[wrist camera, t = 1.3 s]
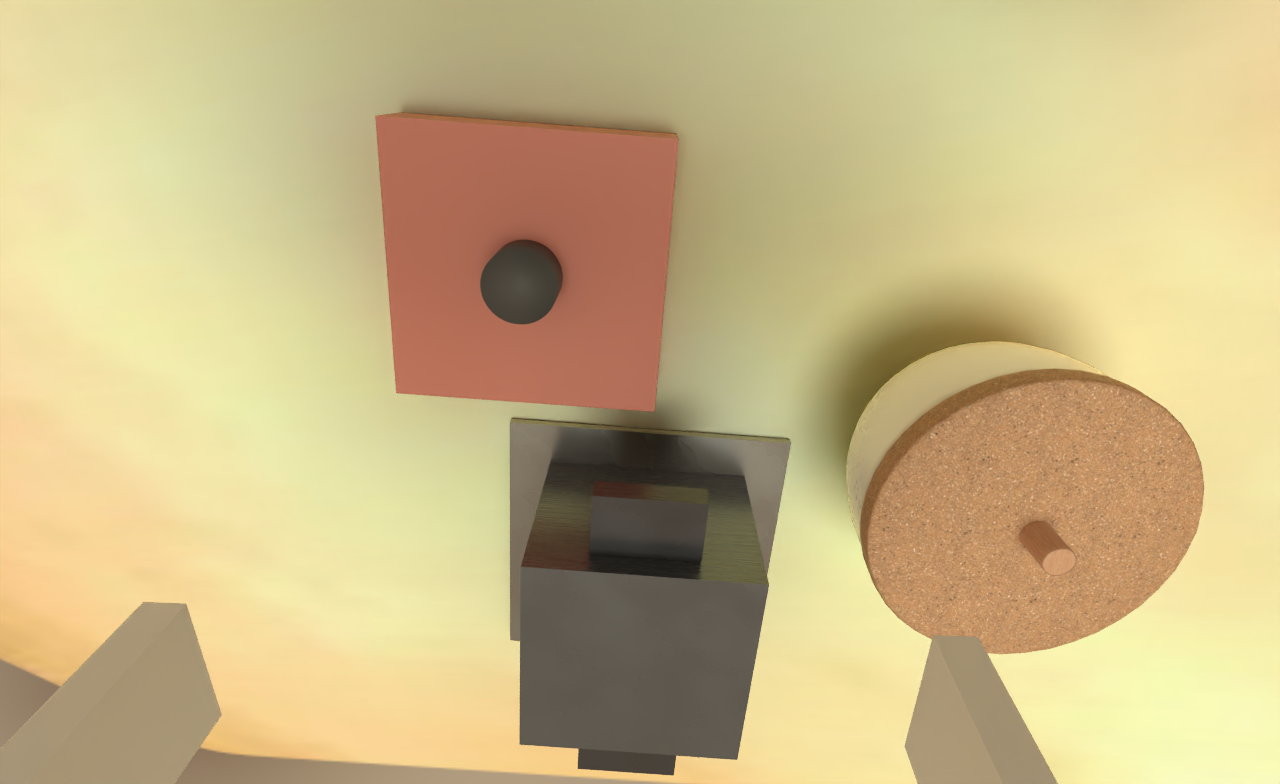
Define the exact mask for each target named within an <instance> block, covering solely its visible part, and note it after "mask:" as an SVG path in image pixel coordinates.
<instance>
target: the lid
mask: <svg viewBox="0 0 1280 784" xmlns="http://www.w3.org/2000/svg"><path fill="white" fill-rule="evenodd" d="M376 128H377V141H378V155H379V168H380V181H381V195H382V208H383V221H384V235H385V248H386V261H387V275H388V288H389V301H390V315H391V328H392V341H393V355H394V368H395V381H396V393H403V394H417V395H431V396H444V397H458V398H472V399H486V400H500V401H513V402H527V403H541V404H555V405H568V406H582V407H596V408H610V409H623V410H637V411H651V412H655V402H656V390H657V379H658V368H659V356H660V345H661V334H662V322H663V311H664V299H665V288H666V277H667V265H668V254H669V243H670V231H671V220H672V209H673V197H674V186H675V174H676V163H677V152H678V140H679V139H678V136H677V134H672V133H659V132H646V131H633V130H620V129H607V128H594V127H581V126H568V125H555V124H542V123H529V122H517V121H504V120H491V119H478V118H465V117H452V116H439V115H426V114H413V113H394V114H386V115H378V116H376Z"/></svg>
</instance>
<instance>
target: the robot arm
mask: <svg viewBox="0 0 1280 784" xmlns="http://www.w3.org/2000/svg"><path fill="white" fill-rule="evenodd" d="M220 717H221V711H220V708H219V705H218V702H217V699H216V696H215V693H214V690H213V686H212V683H211V680H210V677H209V674H208V671H207V668H206V664H205V661H204V658H203V655H202V652H201V649H200V646H199V643H198V639H197V636H196V633H195V630H194V627H193V624H192V621H191V618H190V614H189V611H188V608H187V605H186V604H179V603H155V602H143V603H142V604H141V605H140V606H139V607H138V608H137V609H136V610H135V611H134V612H133V613H132V614H131V615H130V616H129V618H128V619H127V620H126V621H125V622H124V623H123V624H122V625H121V626H120V627H119V628H118V629H117V630H116V631H115V632H114V633H113V634H112V635H111V636H110V637H109V638H108V639H107V640H106V641H105V642H104V643H103V644H102V645H101V646H100V647H99V648H98V649H97V650H96V651H95V652H94V653H93V654H92V655H91V656H90V657H89V658H88V659H87V660H86V661H85V663H84V664H83V665H82V666H81V667H80V668H79V669H78V670H77V671H76V672H75V673H74V674H73V675H72V676H71V677H70V678H69V679H68V680H67V681H66V682H65V683H64V684H63V685H62V686H61V687H60V688H59V689H58V690H57V691H56V692H55V693H54V694H53V695H52V696H51V697H50V698H49V700H47V701H46V702H45V703H44V705H42V707H41V708H40V709H39V710H38V711H37V712H36V713H35V714H34V715H33V716H32V717H31V718H30V719H29V720H28V721H27V722H26V723H25V724H24V725H23V726H22V727H21V728H20V729H19V730H18V731H17V732H16V733H15V734H14V735H13V736H12V737H11V738H10V739H9V740H8V741H7V742H6V743H5V744H4V745H3V746H2V747H1V748H0V784H174V783H175V782H176V780H177V779H178V778H179V776H180V775H181V773H182V772H183V770H184V769H185V767H186V766H187V765H188V763H189V762H190V760H191V759H192V757H193V756H194V754H195V753H196V752H197V750H198V749H199V747H200V746H201V744H202V743H203V741H204V740H205V738H206V737H207V736H208V734H209V733H210V731H211V730H212V728H213V727H214V725H215V724H216V722H217V721H218V720H219V718H220ZM905 748H906V751H907V754H908V757H909V760H910V763H911V766H912V768H913V771H914V774H915V777H916V780H917V783H918V784H1058V783H1057V781H1056V779H1055V778H1054V776H1053V774H1052V772H1051V770H1050V768H1049V766H1048V765H1047V763H1046V761H1045V759H1044V757H1043V755H1042V754H1041V752H1040V750H1039V748H1038V746H1037V744H1036V743H1035V741H1034V739H1033V737H1032V735H1031V733H1030V732H1029V730H1028V728H1027V726H1026V724H1025V722H1024V721H1023V719H1022V717H1021V715H1020V713H1019V711H1018V710H1017V708H1016V706H1015V704H1014V702H1013V700H1012V698H1011V697H1010V695H1009V693H1008V691H1007V689H1006V687H1005V686H1004V684H1003V682H1002V680H1001V678H1000V676H999V675H998V673H997V671H996V669H995V667H994V665H993V664H992V662H991V660H990V658H989V656H988V654H987V653H986V651H985V649H984V647H983V645H982V643H981V642H980V640H979V638H978V637H966V636H943V635H933V638H932V642H931V646H930V650H929V654H928V658H927V661H926V665H925V669H924V673H923V677H922V681H921V685H920V689H919V692H918V696H917V700H916V704H915V708H914V712H913V716H912V720H911V724H910V727H909V731H908V735H907V739H906V743H905Z"/></svg>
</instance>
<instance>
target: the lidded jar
mask: <svg viewBox="0 0 1280 784" xmlns="http://www.w3.org/2000/svg"><path fill="white" fill-rule="evenodd" d="M846 484H847V495H848V501H849V507H850V512H851V517H852V522H853V524H854V527H855V530H856V532H857V535H858V538H859V541H860V543H861V546H862V552H863V557H864V560H865V562H866V565H867V568H868V570H869V573H870V576H871V578H872V581H873V583H874V585H875V587H876V589H877V591H878V592H879V594H880V595H881V597H882V599H883V600H884V602H885V604H886V605H887V606H888V607H889V608H890V609H891V610H892V611H893V612H894V613H895V614H896V616H897V617H898V618H899V619H901V620H902V621H903V622H905V623H906V624H907V625H909V626H910V627H911V628H913V629H914V630H915V631H917V632H919V633H921V634H923V635H925V636H927V637H929V638H931V639H932V638H933V635H943V636H966V637H978V638H979V640H980V642H981V643H982V645H983V647H984V649H985V651H986V653H994V654H1010V653H1026V652H1032V651H1038V650H1045V649H1050V648H1054V647H1057V646H1061V645H1064V644H1067V643H1071V642H1074V641H1076V640H1079V639H1082V638H1084V637H1087V636H1089V635H1092V634H1094V633H1097V632H1099V631H1100V630H1102V629H1104V628H1106V627H1108V626H1109V625H1111V624H1113V623H1115V622H1117V621H1118V620H1120V619H1121V618H1123V617H1124V616H1126V615H1127V614H1129V613H1130V612H1132V611H1133V610H1135V609H1136V608H1138V607H1139V606H1140V605H1142V604H1143V603H1144V602H1145V601H1146V600H1147V599H1148V598H1149V597H1150V596H1151V595H1153V594H1154V593H1155V592H1156V591H1157V590H1158V589H1159V588H1160V587H1161V586H1162V584H1163V583H1164V582H1165V581H1166V580H1167V579H1168V578H1169V577H1170V576H1171V574H1172V573H1173V572H1174V571H1175V569H1176V568H1177V566H1178V565H1179V563H1180V562H1181V560H1182V558H1183V557H1184V555H1185V554H1186V552H1187V550H1188V548H1189V546H1190V544H1191V542H1192V540H1193V538H1194V536H1195V534H1196V531H1197V528H1198V524H1199V520H1200V516H1201V512H1202V505H1203V494H1204V481H1203V474H1202V467H1201V462H1200V459H1199V456H1198V453H1197V451H1196V448H1195V445H1194V443H1193V441H1192V440H1191V438H1190V436H1189V435H1188V433H1187V432H1186V430H1185V429H1184V427H1183V426H1182V424H1181V423H1180V422H1179V421H1178V420H1177V419H1176V418H1175V417H1174V416H1173V415H1172V414H1171V413H1170V412H1169V411H1168V410H1167V409H1166V408H1164V407H1163V406H1161V405H1160V404H1158V403H1157V402H1155V401H1154V400H1152V399H1151V398H1149V397H1148V396H1146V395H1145V394H1143V393H1142V392H1140V391H1138V390H1137V389H1135V388H1133V387H1131V386H1129V385H1127V384H1124V383H1122V382H1120V381H1117V380H1115V379H1112V378H1111V377H1109V376H1107V375H1106V374H1104V373H1102V372H1100V371H1099V370H1097V369H1095V368H1093V367H1092V366H1090V365H1087V364H1085V363H1082V362H1080V361H1078V360H1075V359H1073V358H1070V357H1068V356H1065V355H1063V354H1060V353H1058V352H1055V351H1052V350H1048V349H1044V348H1039V347H1035V346H1030V345H1026V344H1021V343H1015V342H1000V341H993V342H979V343H967V344H962V345H958V346H953V347H948V348H945V349H942V350H940V351H937V352H934V353H932V354H929V355H927V356H925V357H923V358H921V359H919V360H917V361H915V362H913V363H911V364H910V365H908V366H907V367H906V368H904V369H903V370H901V371H900V372H898V373H897V374H896V375H894V376H893V377H892V378H891V379H890V380H889V381H888V382H887V383H886V384H885V385H883V386H882V387H881V388H880V389H879V391H878V392H877V393H876V394H875V396H874V397H873V398H872V399H871V401H870V402H869V403H868V405H867V406H866V408H865V410H864V411H863V413H862V415H861V416H860V418H859V420H858V423H857V425H856V428H855V431H854V433H853V436H852V439H851V442H850V447H849V452H848V456H847V470H846Z"/></svg>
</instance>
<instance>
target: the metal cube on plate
mask: <svg viewBox="0 0 1280 784" xmlns="http://www.w3.org/2000/svg"><path fill="white" fill-rule="evenodd" d="M790 445H791V443H790V440H789V439H780V438H766V437H753V436H739V435H726V434H713V433H699V432H686V431H673V430H659V429H646V428H632V427H619V426H606V425H592V424H579V423H566V422H552V421H539V420H525V419H511V422H510V640H515V641H520V744H521V745H535V746H550V747H564V748H578V749H579V754H578V769H590V770H604V771H619V772H633V773H647V774H661V775H674V768H675V760H676V755H677V756H691V757H706V758H720V759H734V760H737V758H738V752H739V747H740V741H741V736H742V730H743V725H744V719H745V714H746V708H747V703H748V697H749V692H750V686H751V681H752V675H753V670H754V664H755V659H756V653H757V648H758V642H759V637H760V631H761V626H762V620H763V615H764V609H765V604H766V598H767V593H768V587H769V583H768V579H767V573H768V568H769V562H770V556H771V551H772V545H773V540H774V534H775V528H776V523H777V517H778V512H779V506H780V501H781V495H782V489H783V484H784V478H785V473H786V467H787V461H788V456H789V450H790Z"/></svg>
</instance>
